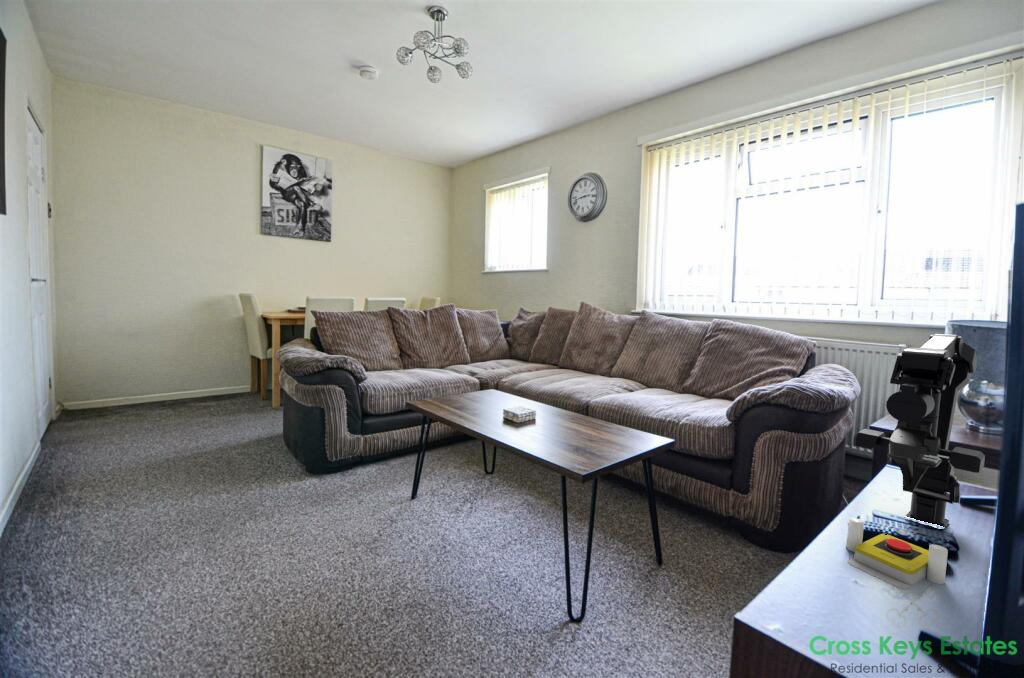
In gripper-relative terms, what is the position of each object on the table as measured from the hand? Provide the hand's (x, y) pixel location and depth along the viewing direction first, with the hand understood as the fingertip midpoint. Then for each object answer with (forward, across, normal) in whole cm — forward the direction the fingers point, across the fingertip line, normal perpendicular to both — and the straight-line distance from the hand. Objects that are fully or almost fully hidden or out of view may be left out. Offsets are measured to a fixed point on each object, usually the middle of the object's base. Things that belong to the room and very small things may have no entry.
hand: (910, 490), depth 91 cm
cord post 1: (+12, -6, -9) cm, 16 cm away
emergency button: (+13, 0, -9) cm, 16 cm away
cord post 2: (+12, +6, -9) cm, 16 cm away
